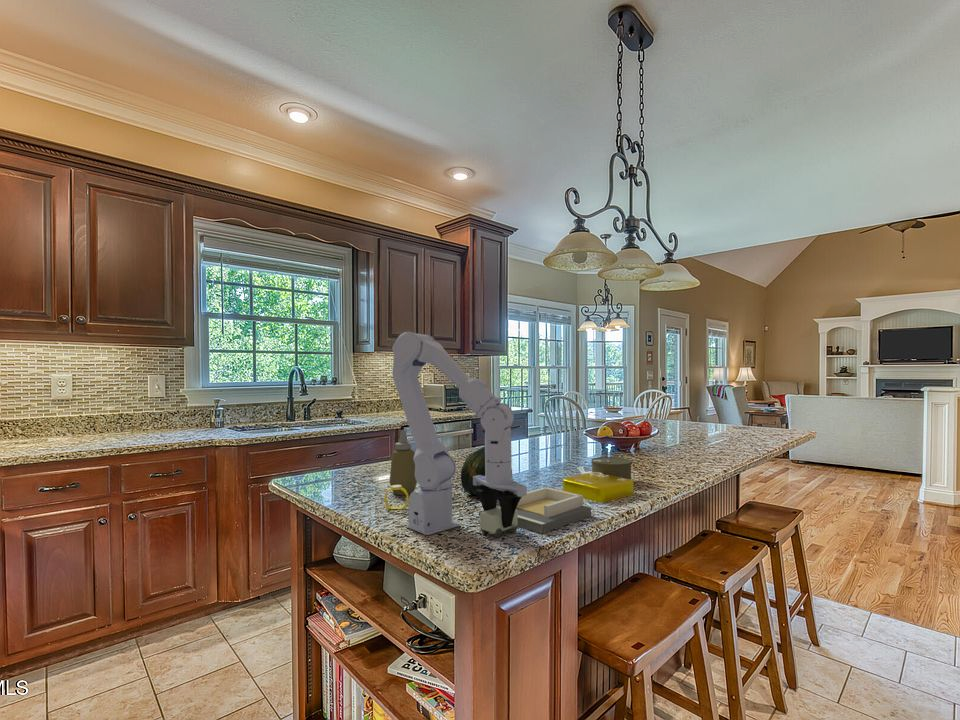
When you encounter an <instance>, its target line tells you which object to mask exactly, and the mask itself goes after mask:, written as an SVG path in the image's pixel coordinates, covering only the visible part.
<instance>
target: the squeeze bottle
mask: <svg viewBox="0 0 960 720" xmlns="http://www.w3.org/2000/svg"><path fill="white" fill-rule="evenodd" d="M394 446H395V447H394V449H395V450H393V451H392V453H391V460H390V461H391V463H390V471H389V484H390V487H391V486H393V485H401V486H402V488H404V489H405V490H406V491H407V493H408V495H410V494H411V493H412V492H413V491H416V488H417V487H416V486H417V484H418V482H417V481H416V478H415V463H414V460H413V458H414V455H415V452H416V451H414V450H413V449H412V442H409V441H408V437H407V433H406V430H405V429H402V430H400V435H399V440H398V442H396V443H394ZM391 491H392V493H393V495H397V496H406V494H405V493H404V491H402V490H400V489H399V490H391Z"/></svg>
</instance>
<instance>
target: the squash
mask: <svg viewBox="0 0 960 720" xmlns="http://www.w3.org/2000/svg"><path fill="white" fill-rule="evenodd" d="M477 475H481V476H485V445H484V446H482V447H480V448H479V449H477V450H475V451H474V452H471V453H470V454H468V456H467V457H466V458H465V460H464V462H463V465H462V467H461V469H460V482H461V486H462V488H463V490H464V491H465V492H466V493H467V494H469V495H472V496H477V494H476V490H477V489H480V488H481V486H480V485H477V486H476V485H473V476H477ZM503 493H504V491H500V490H499V493H498V495H499V494H503Z"/></svg>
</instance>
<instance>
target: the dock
mask: <svg viewBox="0 0 960 720" xmlns="http://www.w3.org/2000/svg"><path fill="white" fill-rule="evenodd" d="M498 507H500V505H499V506H496V508H498ZM516 510H517V513H518V526H519V528H522V529H525V528H526V529H525V530H528V529H529V530H528V531H531V530H533V531H532V532H534V531H536V532H535V533H537V532H539V533H538V534H540V533H544V534H546V533H545V532H547V533H549V532H552V531H554V530H553V529H555V530H557V529H556V528H558V529H559V527H560V528H562V527H561V526H563V527H565V526H564V525H566V526H568V525H571V524H573V522H574V523H577V522H579V521H581V520H584V519H587V518H589V517H591V516H592V507H590V506H586V505H584V499H583V495H579V494H574V493H570V492H565V491H563V490H560V489H556V488H551V487H547V486H545V487H541V488H537V489H534V490H529V491H527V495H525V496H522V498H521V499H520V501H519V503H518V505H517V507H516ZM570 523H571V524H570ZM567 524H568V525H567ZM518 526H517V527H518ZM551 530H552V531H551ZM548 531H549V532H548Z"/></svg>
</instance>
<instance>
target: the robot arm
mask: <svg viewBox="0 0 960 720" xmlns="http://www.w3.org/2000/svg"><path fill="white" fill-rule="evenodd" d="M391 349H392V353H393V363H392V378H393V381H394V385H395V388H396V391H397V394H398V397H399V399H400V402H401V403H400V404H401V405H402V409H403V411H404V416H405V418H406V420H407V424H408V427H409V430H410V433H411V436H412V439H413V441H414V445H415V448H416V450H415V451H414V452H415V455H414V458H413V460H414V463H415V478H416V481H417V484H418V485H419V487H418V489H417V490H416V489H415V490H414V491H413V492H412V493H411V494H409V495H408V496H409V500H408V524H406V527H407V528H408V529H411V530H413V531H415V532H418V533H420V534H423V535H425V536H430V535H434V534H437V533H440V532H443V531H444V532H445V531H447V530H450V529H454V528H456V527H460V526H461V522H458V521H456V520H453V483H452V478H453V477H454V475H455V474H456V471H457V465H456V464H457V463H456V462H455V459H454V458H453V457H452V456H451V455H450V454H449V451H448V449H447V447H446V445H444V444H443V442H441V441H440V439H439V436H438V433H437V430H436V428H435V425H434V421H433V418H432V416H431V412H430V410H429V407H428V404H427V402H426V398H425V395H424V392H423V389H422V386H421V383H420V381H419V378H418V377H419V374H420V373H421V371H422V369H423V367H425V366H426V364H430V365H433V366H435V367H436V368H437V370H439V372H441V373H442V374H443V375H444V376H445V377H446V378H447V379H449V381H451V382H452V383H453V384H454V385H455V386H456V387H457V388H458V396H459V397H458V398H460V399H461V400H462V401H463V402H464V403H465V405H466V406H467V407H469V409H470V410H471V411H472V412H473V413H474V414H475V415H476V416H477V417H478V418H480V419H479V420H480V425H481V427H482V428H483V429H484V446H485V476H481V475H477V476H473V485H476V486H477V485H480V486H481V488H480V489H477V490H476V494H477V495H476V496H477V497H478V499H479V501H480V504H481V506H482V509H483V512H484V511H487V510H491V509H494V508H496V507H497V503H499V506H500V508H501V516H502V525H503V527H504V528H507V527H510V526H512V522H513V517H514V513H515V510H516V507H517V505H518V503H519V501H520V499H521V498H522V496H525V495H527V492H528V491H527V487H528V486H527V485H525V484H521V483H520V482H517V481H515V479H514V478H513V467H512V464H513V463H512V435H511V434H512V431H511V430H512V429H511V426H512V424H513V423H514V419H515V414H514V412H513V410H512V409H511V407H510V405H509V404H507V403H502V399H501V398H500V397H496V396H495V395H494V394H493V392H492V391H490V389H488V388H487V385H488V384H487V383H486V382H485V381H484V380H480V379H478V378H470V376H468V375H467V374H466V372H465V371H464V370H463V369H462V368H461V367H460V365H459V364H458V363H457V362H456V361H455V360H454V359H453V358H452V356H451V355H450V354H449V353H448V352H447V350H445V349H444V347H443V346H442V344H441V343H440V342H438V341H436V340H435V338H434V337H433V336H431V335H429V334H424V333H423V334H421V333H416V332H413V331H404V332H402V333H401V334H399V335H398V336H397V338H396V339H395V342H394V343H393V345H392V347H391ZM499 490H500V491H504V493H503V494H498V493H499Z"/></svg>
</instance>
